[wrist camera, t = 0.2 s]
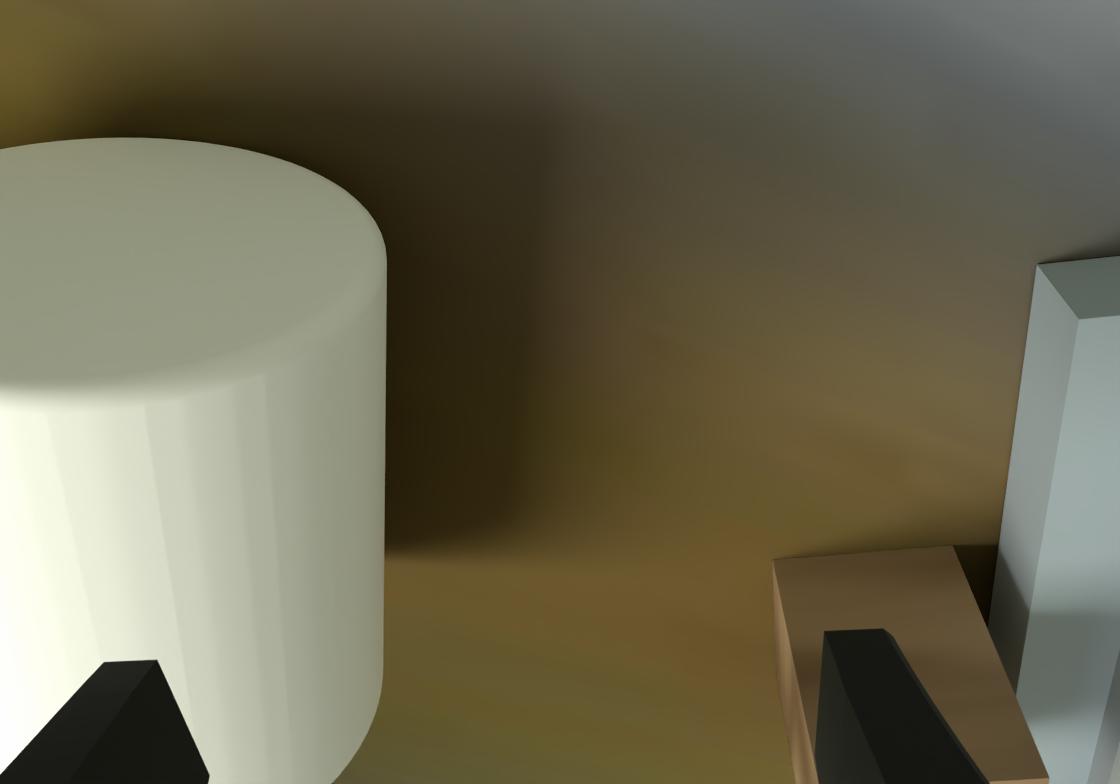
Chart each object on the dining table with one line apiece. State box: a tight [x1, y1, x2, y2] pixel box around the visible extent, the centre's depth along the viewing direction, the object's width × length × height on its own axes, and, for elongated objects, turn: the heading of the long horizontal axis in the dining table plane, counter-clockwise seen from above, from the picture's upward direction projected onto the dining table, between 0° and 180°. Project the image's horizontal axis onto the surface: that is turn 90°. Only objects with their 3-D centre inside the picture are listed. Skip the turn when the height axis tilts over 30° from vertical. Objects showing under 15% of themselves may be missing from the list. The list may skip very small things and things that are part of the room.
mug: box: [0, 138, 387, 784], centre depth 18 cm, size 12×10×8 cm
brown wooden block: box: [773, 545, 1050, 784], centre depth 22 cm, size 4×4×6 cm
